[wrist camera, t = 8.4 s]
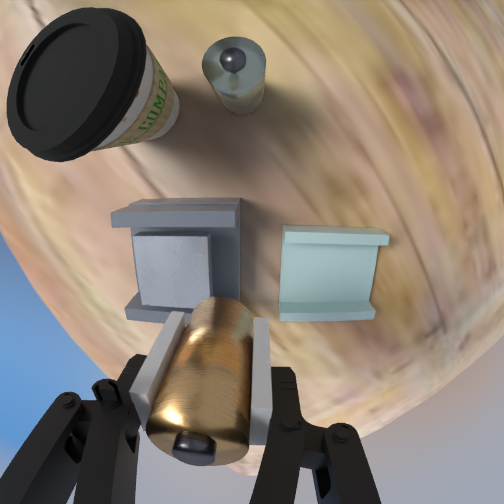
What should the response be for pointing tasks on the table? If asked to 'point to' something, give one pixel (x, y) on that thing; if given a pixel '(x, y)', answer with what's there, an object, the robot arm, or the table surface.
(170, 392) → the cell
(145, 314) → the cradle
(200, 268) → the plate
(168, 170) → the table surface
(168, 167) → the table surface
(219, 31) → the table surface
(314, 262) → the trough
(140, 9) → the table surface
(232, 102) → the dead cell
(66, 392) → the robot arm
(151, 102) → the coffee cup
